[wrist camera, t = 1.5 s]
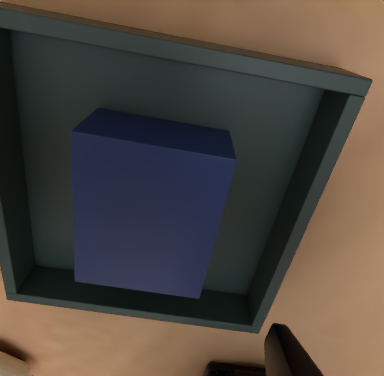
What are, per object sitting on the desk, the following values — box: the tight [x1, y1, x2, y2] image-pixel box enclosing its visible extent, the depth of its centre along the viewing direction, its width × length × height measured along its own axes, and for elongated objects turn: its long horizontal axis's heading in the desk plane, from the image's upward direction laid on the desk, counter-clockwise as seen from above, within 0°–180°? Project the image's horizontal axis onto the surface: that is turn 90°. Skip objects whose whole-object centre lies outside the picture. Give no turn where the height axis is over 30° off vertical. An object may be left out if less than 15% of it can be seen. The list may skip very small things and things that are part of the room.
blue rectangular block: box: [71, 108, 237, 299], centre depth 14 cm, size 8×6×3 cm
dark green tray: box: [0, 2, 372, 334], centre depth 15 cm, size 14×14×3 cm
